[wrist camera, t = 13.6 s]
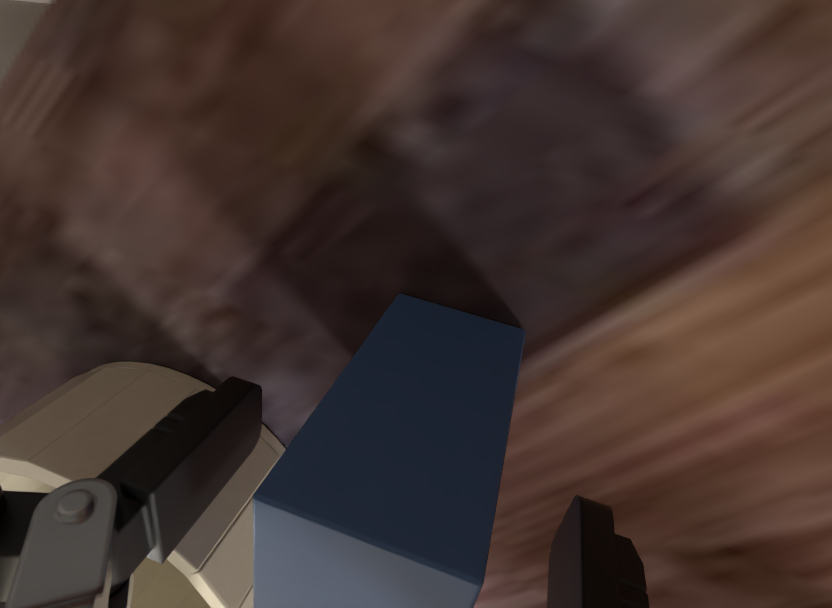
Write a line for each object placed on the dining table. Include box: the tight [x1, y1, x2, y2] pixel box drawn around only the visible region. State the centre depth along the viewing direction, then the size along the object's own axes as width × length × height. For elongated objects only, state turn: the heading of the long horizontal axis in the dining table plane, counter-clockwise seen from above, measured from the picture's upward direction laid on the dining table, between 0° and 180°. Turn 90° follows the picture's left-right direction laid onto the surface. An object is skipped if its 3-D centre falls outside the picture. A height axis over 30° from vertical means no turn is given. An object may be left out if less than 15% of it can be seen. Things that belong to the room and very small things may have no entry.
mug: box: [0, 361, 286, 608], centre depth 20 cm, size 17×14×6 cm
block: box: [253, 294, 525, 608], centre depth 12 cm, size 4×4×8 cm
